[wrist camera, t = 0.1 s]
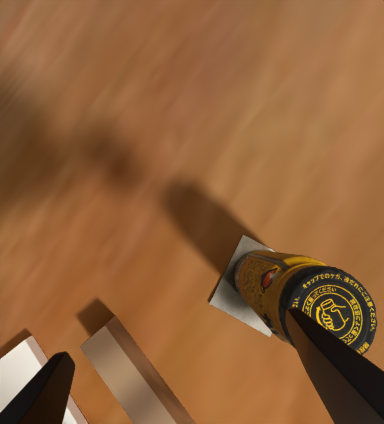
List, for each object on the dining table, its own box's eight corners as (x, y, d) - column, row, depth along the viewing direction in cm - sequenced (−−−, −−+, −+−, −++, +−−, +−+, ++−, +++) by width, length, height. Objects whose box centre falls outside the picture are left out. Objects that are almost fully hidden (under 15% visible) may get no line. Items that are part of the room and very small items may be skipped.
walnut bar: (210, 440, 21) (213, 474, 18) (188, 462, 21) (187, 499, 18) (116, 314, 23) (104, 325, 20) (94, 332, 22) (79, 346, 20)
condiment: (300, 264, 23) (415, 290, 11) (269, 336, 22) (357, 448, 10) (242, 234, 24) (292, 228, 12) (209, 302, 23) (226, 372, 11)
